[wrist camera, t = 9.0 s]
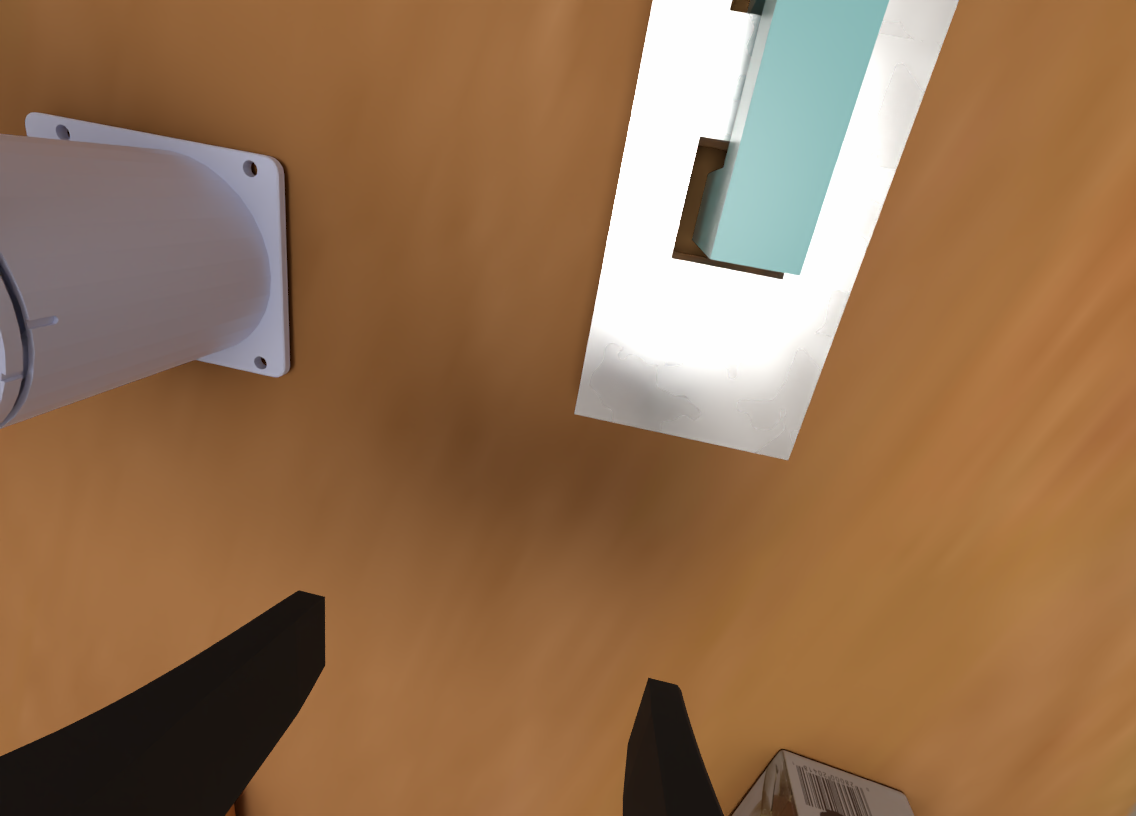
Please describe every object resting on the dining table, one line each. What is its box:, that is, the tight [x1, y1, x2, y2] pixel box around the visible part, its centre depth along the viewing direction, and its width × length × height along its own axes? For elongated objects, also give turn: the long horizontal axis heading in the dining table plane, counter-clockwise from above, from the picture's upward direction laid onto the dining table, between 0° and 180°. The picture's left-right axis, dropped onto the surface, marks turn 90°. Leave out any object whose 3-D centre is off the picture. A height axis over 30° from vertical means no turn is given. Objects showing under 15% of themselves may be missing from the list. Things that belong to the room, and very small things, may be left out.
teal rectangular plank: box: [692, 0, 889, 276], centre depth 13 cm, size 2×8×6 cm, turn 171°
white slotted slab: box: [574, 0, 959, 460], centre depth 15 cm, size 7×20×2 cm, turn 171°
